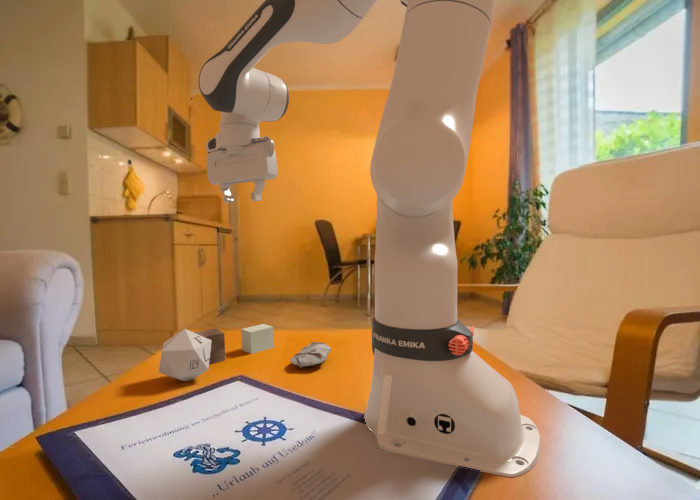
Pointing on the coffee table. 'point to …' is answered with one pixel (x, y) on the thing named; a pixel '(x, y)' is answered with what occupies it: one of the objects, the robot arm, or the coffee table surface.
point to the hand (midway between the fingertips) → (242, 201)
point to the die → (185, 356)
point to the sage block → (257, 338)
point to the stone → (311, 354)
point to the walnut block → (215, 344)
